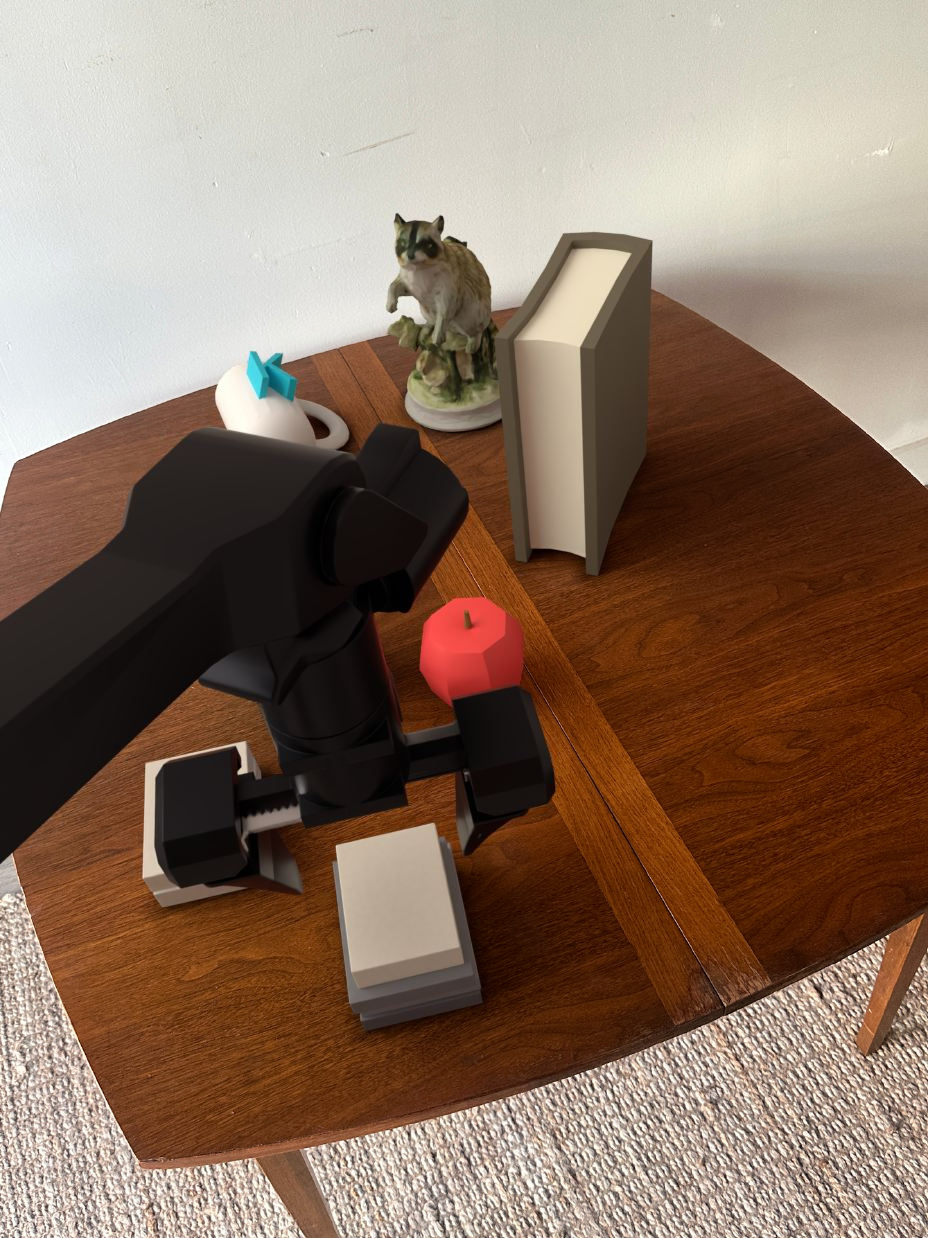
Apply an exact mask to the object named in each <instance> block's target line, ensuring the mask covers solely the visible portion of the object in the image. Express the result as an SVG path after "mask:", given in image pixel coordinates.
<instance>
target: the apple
mask: <svg viewBox="0 0 928 1238" xmlns="http://www.w3.org/2000/svg"><path fill="white" fill-rule="evenodd" d="M524 639H525V633H524V630H523V629H522V626H521V623H520V621H519V620H518V619H517V618H516V617H514V616H513V615H511V614H510V613H508V611H506V610H505V609H503V608H502V607H500V606H499V605H498V604H496V603H495V602H493V601H492V600H490V599H489V598H487V597H485V596H481V597H480V596H479V597H478V596H477V597H454V598H452V599H451V601H448V602H447V603H446V604H445V605H443V606H442V607H441V608H439V609H438V610H436V611H435V612H434V613H432V614H431V615H430V616H429V618H428V619H427V620H426V621H425V622H424V623H423V628H422V638H421V648H420V657H419V658H420V659H419V671H420V672H421V674H422V676H423V678H424V679H425V681H426V683H427V685H428V687H429V689H430V690H431V692H432V693H433V694H434V695H435V696H437V697H438V698H439V699H441V700H442V701H443V702H444V703H445V704H447V705H448V706H449V708H452V703H451V697H455V696H460V695H464V694H469V693H473V692H478V691H482V690H487V689H491V688H496V687H500V686H505V685H509V684H514V683H516V684H517V685H519V686H520V684H521V680H522V674H523V669H524V647H525V645H524V644H525V643H524V642H525V640H524Z"/></svg>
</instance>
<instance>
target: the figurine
mask: <svg viewBox="0 0 928 1238" xmlns="http://www.w3.org/2000/svg"><path fill="white" fill-rule="evenodd" d="M393 226H394V232H395V241H394V244H393V251H394V254H395V256H396V259H397V263H398V264H399V272H398V274H397V276H396V278H395V279H394V280H393V281H392V282H391V283H390V285H389V286H388V289H387V295H386V297H387V298H386V299H387V300H386V305H385V310H386V311H387V312H388V313H390V314H393V313H395V312H397V311H398V304H399V298H400V297H413V298H414V299H415V300H416V301H417V302H418V306H419V311H420V312H419V313H420V314H421V316H422V317H423V319H424V320H425V324H424V323H421V324H419V323H416V322H415V319H414V317H412V316H406V315H405V314H401V317H400V318H399V320H396V321H395V322H393V323H391V324H390V325H389V327H388V328H387V330H386V335H388V336H391V337H394V338H395V339H398V340H399V341H398V347H399V348H403V349H407V350H410V349H411V350H412V352H413V353H416V352H417V351H418V350H419V348H420V353H419V355H418V356H417V357H416V360H415V364H414V366H413V368H412V371H411V373H410V374H409V376H408V379H407V385H406V388H407V392H406V394H405V397H404V406H405V410H406V413H407V414H408V415H409V417H410V418H411V419H412V420H414V421H415V422H416V423H417V424H419V425H421V426H422V427H424V428H428V429H430V430H431V429H432V430H435V431H440V432H450V433H451V432H465V431H471V430H477V429H481V428H485V427H487V426H491V425H493V424H494V423H496V422H498V421H500V420H502V414H501V404H500V394H499V383H498V373H497V363H496V353H495V342H494V337H495V336H496V334H497V333H498V332H499V331H500V330H499V328H498V327H497V325H496V323H495V321H494V320H493V318H492V317H491V316H492V284H491V280H490V276H489V275H488V273H487V271H486V268H485V266H484V265H483V263H482V262H481V261H480V260H479V259H478V257H477V255H476V254H475V253H474V251H472V250H471V249H470V248H468V241H461V240H460V239H458V238H456V237H454V236H451V235H448V236H446V237H444V238H443V239H442V234H443V232H444V229H445V218H444V216H443V215H442V214H439V215H438V216H437V217H436V218H435V219H434V220H433V221H432V222H431V221H427V220H419V219H418V220H417V219H413V220H409V221H406V220H405V219H404V218H403V217H402V215H401V214H399V212H396V213H395V215H394V220H393Z"/></svg>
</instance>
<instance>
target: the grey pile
mask: <svg viewBox="0 0 928 1238" xmlns="http://www.w3.org/2000/svg"><path fill="white" fill-rule="evenodd" d="M438 837H439V842H440V846H441V851H442V856H443V861H444V866H445V871H446V876H447V881H448V885H449V890H450V895H451V900H452V905H453V910H454V915H455V920H456V925H457V929H458V934H459V939H460V944H461V949H462V954H463V959H464V964H462V965H457V966H453V967H449V968H445V969H441V970H436V971H432V972H428V973H424V974H419V975H415V976H411V977H407V978H403V979H398V980H394V981H390V982H386V983H381V984H377V985H373V986H369V987H365V988H360V989H359V988H358V986H357V984H356V982H355V979H354V977H353V975H352V973H351V966H350V958H349V950H348V942H347V934H346V926H345V917H344V909H343V901H342V893H341V885H340V877H339V869H338V861H337V860H334V861H332V869H333V877H334V886H335V893H336V902H337V903H336V904H337V909H338V918H339V919H338V920H339V928H340V937H341V944H342V951H343V952H342V953H343V960H344V961H343V962H344V970H345V978H346V986H347V987H346V988H347V996H348V1002H349V1006H350V1008H351V1010H352V1012H353V1014H354V1015H359V1018H360V1019H359V1020H360V1023H361V1025H362V1027H363V1029H364V1031H365V1032H368V1031H372V1030H376V1029H380V1028H385V1027H388V1026H393V1025H397V1024H401V1023H406V1022H411V1021H415V1020H418V1019H422V1018H426V1017H429V1016H430V1017H431V1016H435V1015H440V1014H443V1013H446V1012H447V1013H448V1012H452V1011H456V1010H461V1009H465V1008H469V1007H472V1006H477V1005H481V1004H483V1002H484V1001H483V997H482V993H481V992H482V991H481V989H482V986H481V981H480V976H479V972H478V967H477V961H476V957H475V953H474V948H473V943H472V940H471V935H470V929H469V925H468V919H467V915H466V910H465V906H464V905H465V904H464V900H463V898H462V891H461V886H460V881H459V877H458V874H457V873H458V872H457V869H456V868H457V867H456V864H455V859H454V853H453V849H452V845H451V842H450V841H449V842H447V839H446V836H445V835H443V836H438Z"/></svg>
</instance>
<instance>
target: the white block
mask: <svg viewBox="0 0 928 1238" xmlns="http://www.w3.org/2000/svg"><path fill="white" fill-rule="evenodd" d="M439 837H440V836H439V834H438V830H437V826H436V823H435V822H431V823H427V824H423V825H422V824H421V825H419V826H413V827H409V828H405V829H401V830H397V831H392V832H388V833H383V834H378V835H375V836H371V837H366V838H361V839H357V840H353V841H349V842H344V843H340V844H336V845H335V852H336V861H338V869H339V877H340V885H341V893H342V901H343V909H344V917H345V926H346V934H347V942H348V950H349V958H350V966H351V973H352V975H353V977H354V979H355V982H356V984H357V986H358V988H359V989H360V988H365V987H369V986H373V985H377V984H381V983H386V982H390V981H394V980H398V979H403V978H407V977H411V976H415V975H419V974H424V973H428V972H432V971H436V970H441V969H445V968H449V967H453V966H457V965H462V964H464V959H463V954H462V949H461V944H460V939H459V934H458V929H457V925H456V920H455V915H454V910H453V905H452V900H451V895H450V890H449V885H448V881H447V876H446V871H445V866H444V861H443V856H442V851H441V846H440V842H439Z"/></svg>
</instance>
